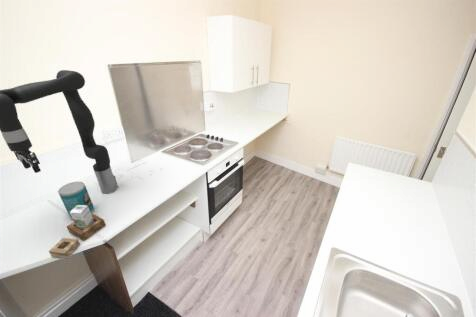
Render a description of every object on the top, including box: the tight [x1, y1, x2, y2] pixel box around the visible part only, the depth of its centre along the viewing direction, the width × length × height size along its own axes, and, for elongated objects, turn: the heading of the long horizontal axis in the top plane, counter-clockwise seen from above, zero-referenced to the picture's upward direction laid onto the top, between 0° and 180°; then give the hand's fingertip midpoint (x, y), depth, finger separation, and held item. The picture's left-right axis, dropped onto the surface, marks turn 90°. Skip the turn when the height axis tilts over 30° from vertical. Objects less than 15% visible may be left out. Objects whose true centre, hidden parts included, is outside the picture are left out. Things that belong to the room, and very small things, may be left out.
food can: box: [57, 181, 95, 220], centre depth 122 cm, size 12×12×18 cm
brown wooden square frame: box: [66, 212, 106, 242], centre depth 115 cm, size 12×12×4 cm
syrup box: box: [70, 205, 94, 230], centre depth 112 cm, size 6×6×14 cm
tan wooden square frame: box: [48, 237, 81, 259], centre depth 103 cm, size 8×8×4 cm
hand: (33, 169), depth 104 cm, fingers open, 8 cm apart
